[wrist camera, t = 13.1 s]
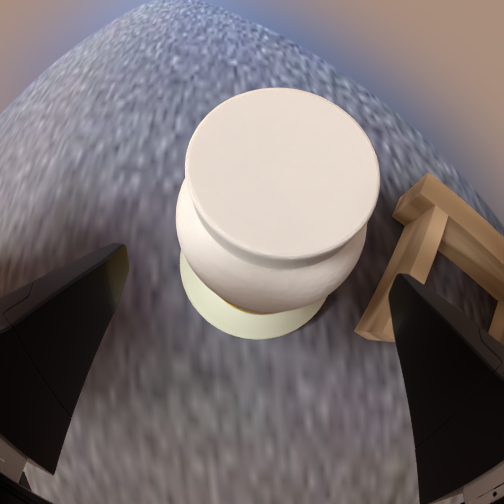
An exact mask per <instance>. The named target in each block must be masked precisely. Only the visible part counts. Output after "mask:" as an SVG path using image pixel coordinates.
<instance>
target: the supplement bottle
mask: <svg viewBox="0 0 504 504" xmlns="http://www.w3.org/2000/svg"><path fill="white" fill-rule="evenodd" d="M379 189H380V172H379V164H378V160H377V157H376V154H375V151H374V149H373V146H372V144H371V142H370V140H369V139H368V137H367V135H366V134H365V132H364V131H363V129H362V128H361V127H360V126H359V124H358V123H357V122H356V121H355V120H354V119H353V118H352V117H351V116H350V115H349V114H347V113H346V112H345V111H344V110H342V109H341V108H340V107H338V106H337V105H335V104H333V103H332V102H330V101H328V100H326V99H325V98H323V97H320V96H318V95H315V94H312V93H309V92H305V91H301V90H297V89H289V88H264V89H258V90H254V91H249V92H246V93H243V94H240V95H237V96H235V97H232V98H230V99H228V100H227V101H225V102H223V103H222V104H220V105H219V106H217V107H216V108H215V109H213V110H212V111H211V112H210V113H209V114H208V115H207V116H206V117H205V118H204V119H203V120H202V122H201V123H200V124H199V126H198V127H197V129H196V130H195V132H194V134H193V136H192V138H191V140H190V143H189V146H188V150H187V154H186V162H185V179H184V182H183V184H182V187H181V190H180V193H179V197H178V201H177V207H176V228H177V234H178V239H179V243H180V246H181V249H182V252H183V254H184V256H185V258H186V260H187V262H188V264H189V265H190V267H191V268H192V270H193V271H194V273H195V274H196V275H197V276H198V278H199V279H200V280H201V281H202V282H203V283H204V284H205V285H206V286H207V287H208V288H209V289H210V290H212V291H213V292H214V293H215V294H217V295H218V296H219V297H220V298H221V299H222V300H224V301H225V302H226V303H227V304H229V305H230V306H232V307H233V308H235V309H237V310H240V311H242V312H245V313H248V314H254V315H270V314H276V313H281V312H286V311H291V310H295V309H299V308H302V307H305V306H308V305H310V304H313V303H315V302H317V301H319V300H321V299H323V298H324V297H326V296H328V295H329V294H330V293H332V292H333V291H334V290H335V289H336V288H338V287H339V286H340V285H341V284H342V283H343V281H344V280H345V279H346V278H347V277H348V275H349V274H350V273H351V272H352V270H353V268H354V267H355V265H356V263H357V261H358V259H359V257H360V254H361V252H362V249H363V246H364V243H365V238H366V231H367V222H368V220H369V218H370V217H371V215H372V213H373V211H374V208H375V206H376V203H377V200H378V195H379Z"/></svg>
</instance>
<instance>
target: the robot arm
mask: <svg viewBox="0 0 504 504" xmlns="http://www.w3.org/2000/svg"><path fill="white" fill-rule="evenodd" d="M128 272H129V261H128V254H127V248H126V246H125V245H124V244H120V243H113V244H110V245H108V246H106V247H104V248H101V249H99V250H97V251H95V252H93V253H90V254H88V255H86V256H84V257H82V258H80V259H78V260H75V261H73V262H71V263H69V264H67V265H65V266H63V267H61V268H59V269H57V270H55V271H53V272H51V273H49V274H47V275H45V276H43V277H41V278H39V279H37V280H35V281H34V282H31V283H29V284H27V285H25V286H23V287H21V288H19V289H17V290H15V291H13V292H11V293H9V294H6V295H4V296H2V297H0V504H54V503H52V502H50V501H48V500H46V499H44V498H42V497H40V496H39V495H37V494H35V493H33V492H32V490H31V488H30V485H29V483H28V481H27V478H26V475H25V473H24V472H23V469H24V467H25V464H26V461H27V462H29V463H31V464H32V465H34V466H36V467H38V468H40V469H42V470H44V471H46V472H47V473H49V474H51V475H54V473H55V471H56V467H57V463H58V460H59V456H60V453H61V450H62V446H63V443H64V440H65V437H66V434H67V430H68V427H69V424H70V421H71V417H72V415H73V412H74V409H75V406H76V404H77V401H78V398H79V395H80V393H81V390H82V387H83V385H84V382H85V379H86V377H87V374H88V372H89V369H90V367H91V364H92V362H93V359H94V357H95V355H96V352H97V350H98V347H99V345H100V343H101V340H102V338H103V336H104V334H105V331H106V329H107V327H108V325H109V322H110V320H111V318H112V316H113V314H114V311H115V309H116V306H117V304H118V301H119V298H120V295H121V292H122V289H123V286H124V283H125V281H126V278H127V275H128ZM388 300H389V306H390V313H391V319H392V326H393V333H394V338H395V343H396V347H397V351H398V355H399V360H400V364H401V369H402V373H403V378H404V383H405V388H406V393H407V399H408V404H409V410H410V416H411V423H412V429H413V436H414V444H415V448H416V449H415V453H416V462H417V473H418V485H419V501H420V504H433V503H436V502H439V501H442V500H444V499H447V498H450V497H453V496H455V495H458V494H461V493H463V497H464V502H463V503H461V504H504V345H503V344H502V343H500V342H499V341H498V340H496V339H495V338H494V337H492V336H491V335H490V334H489V333H487V332H486V331H485V330H483V329H482V328H481V327H478V325H477V324H476V323H475V322H473V321H472V320H471V319H469V318H468V317H467V316H466V315H464V314H463V313H462V312H460V311H459V310H458V309H456V308H455V307H454V306H452V305H451V304H450V303H448V302H447V301H446V300H444V299H443V298H442V297H440V296H439V295H438V294H436V293H435V292H433V291H432V290H431V289H429V288H428V287H427V286H425V285H424V284H422V283H421V282H420V281H418V280H417V279H415V278H414V277H412V276H411V275H410V274H406V273H398V274H397V275H396V276H395V279H394V281H393V284H392V286H391V289H390V291H389V295H388Z"/></svg>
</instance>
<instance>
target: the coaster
mask: <svg viewBox="0 0 504 504" xmlns="http://www.w3.org/2000/svg"><path fill="white" fill-rule="evenodd" d="M180 271H181V278H182V282H183V286H184V288H185V291H186V293H187V296H188V298H189V299H190V301H191V303H192V304H193V306H194V307H195V308H196V310H197V311H198V312H199V314H200V315H202V316H203V317H204V318H205V319H206V320H207V321H208V322H209V323H211V324H212V325H213V326H215V327H216V328H218V329H220V330H222V331H224V332H226V333H228V334H231V335H234V336H237V337H241V338H246V339H269V338H274V337H279V336H282V335H285V334H288V333H290V332H292V331H294V330H296V329H298V328H299V327H301V326H302V325H304V324H305V323H306V322H307V321H309V320H310V319H311V318H312V317H313V316H314V315H315V314H316V313H317V311H318V310H319V309H320V308H321V306H322V305H323V303H324V301H325V300H326V298H327V296H326V297H324V298H323V299H321V300H319V301H317V302H315V303H313V304H310V305H308V306H305V307H302V308H299V309H295V310H291V311H286V312H281V313H276V314H270V315H254V314H248V313H245V312H242V311H240V310H237V309H235V308H233V307H232V306H230V305H229V304H227V303H226V302H225V301H224V300H222V299H221V298H220V297H219V296H218V295H217V294H215V293H214V292H213V291H212V290H210V289H209V288H208V287H207V286H206V285H205V284H204V283H203V282H202V281H201V280H200V279H199V278H198V276H197V275H196V274H195V273H194V271H193V270H192V268H191V267H190V265H189V264H188V262H187V260H186V258H185V256H184V254H183V252H182V249H181V254H180Z"/></svg>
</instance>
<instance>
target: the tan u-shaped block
mask: <svg viewBox="0 0 504 504" xmlns="http://www.w3.org/2000/svg"><path fill="white" fill-rule="evenodd" d="M392 217H393V218H394V219H396V220H397V221H399V222H400V223H402V224H403V225H404V226H405V227H404V229H403V232H402V234H401V236H400V239H399V241H398V243H397V246H396V248H395V250H394V253H393V255H392V257H391V259H390V261H389V264H388V266H387V268H386V270H385V272H384V274H383V276H382V278H381V280H380V282H379V285H378V287H377V289H376V291H375V293H374V295H373V297H372V298H371V300H370V302H369V304H368V306H367V308H366V310H365V312H364V314H363V316H362V318H361V319H360V321H359V323H358V325H357V327H356V329H355V330H354V332H356V333H358V334H359V335H361V336H362V337H364V338H366V339H368V340H377V341H387V342H395V338H394V333H393V326H392V319H391V313H390V306H389V300H388V295H389V291H390V289H391V286H392V284H393V281H394V279H395V276H396V275H397V274H398V273H406V274H410V275H411V276H412V277H414V278H415V279H417V280H418V281H420V282H421V283H422V284H425V281H426V279H427V276H428V274H429V271H430V269H431V266H432V263H433V261H434V258H435V255H436V252H437V250H438V251H439V252H440V253H442V254H443V255H444V256H445V257H447V258H448V259H449V260H450V261H452V262H453V263H454V264H455V265H457V266H458V267H459V268H460V269H461V270H463V271H464V272H465V273H466V274H467V275H469V276H470V277H471V278H472V279H473V280H475V281H476V282H477V283H478V284H479V285H480V286H481V287H483V288H484V289H485V290H486V291H487V292H488V293H489V294H490V295H492V296H493V297H494V298H495V299H496V300H497V301H498V303H497V307H496V310H495V313H494V316H493V320H492V323H491V326H490V329H489V331H488V333H489V334H490V335H491V336H492V337H494V338H495V339H496V340H498V341H499V342H500V343H502V344H503V345H504V238H503V237H502V236H501V235H500V234H499V233H498V232H497V231H496V230H495V229H494V228H493V227H492V226H491V225H490V224H489V223H488V222H487V221H486V220H485V219H484V218H482V217H481V216H480V215H479V214H478V213H477V212H476V211H475V210H474V209H472V208H471V207H470V206H469V205H468V204H467V203H466V202H464V201H463V200H462V199H461V198H460V197H459V196H457V195H456V194H455V193H454V192H453V191H451V190H450V189H449V188H448V187H446V186H445V185H444V184H443V183H441V182H440V181H439V180H438V179H436V178H435V177H434V176H432V175H431V174H430V173H427V174H426V175H425V176H423V177H422V178H421V179H420V180H419V181H418V182H417V183H416V184H415V185H413V186H412V187H411V188H410V189H409V190H408V191H407V192H406V193H404V194H403V195H402V196H401V197H400V199H399V201H398V204H397V206H396V208H395V211H394V213H393V215H392Z"/></svg>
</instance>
